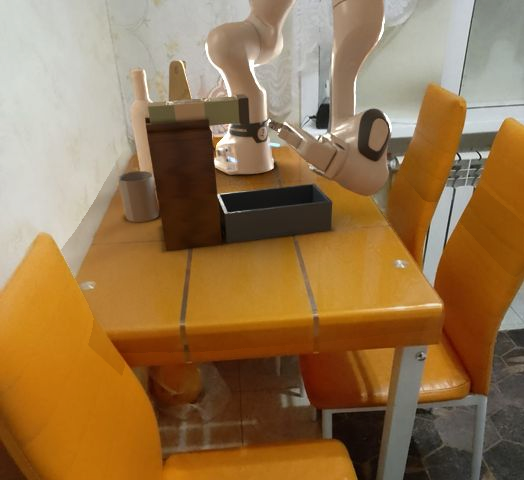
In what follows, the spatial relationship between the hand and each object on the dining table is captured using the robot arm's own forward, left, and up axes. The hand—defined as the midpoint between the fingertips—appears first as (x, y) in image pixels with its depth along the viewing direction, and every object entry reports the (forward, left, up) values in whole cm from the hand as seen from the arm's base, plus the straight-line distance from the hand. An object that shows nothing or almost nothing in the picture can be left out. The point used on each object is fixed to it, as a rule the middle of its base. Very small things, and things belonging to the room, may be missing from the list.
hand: (273, 126), depth 105 cm
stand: (-10, -18, -22) cm, 30 cm away
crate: (0, -1, -22) cm, 22 cm away
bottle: (-49, -3, -22) cm, 54 cm away
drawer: (-8, -14, +2) cm, 16 cm away
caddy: (-68, +25, -22) cm, 76 cm away
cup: (-30, -19, -22) cm, 42 cm away
